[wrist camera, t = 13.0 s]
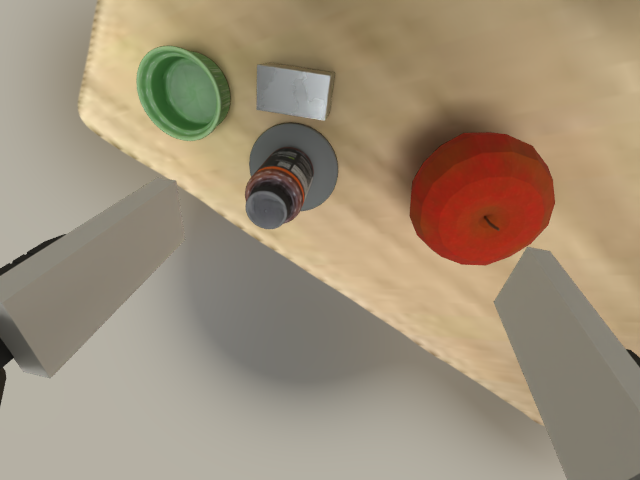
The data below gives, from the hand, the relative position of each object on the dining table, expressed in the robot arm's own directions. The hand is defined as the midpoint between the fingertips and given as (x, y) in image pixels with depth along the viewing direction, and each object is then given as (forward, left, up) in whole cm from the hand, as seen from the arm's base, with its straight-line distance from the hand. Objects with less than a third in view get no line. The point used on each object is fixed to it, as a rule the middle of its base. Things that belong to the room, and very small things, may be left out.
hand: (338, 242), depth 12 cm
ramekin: (0, -19, -27) cm, 33 cm away
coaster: (+7, -7, -27) cm, 29 cm away
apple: (+4, +12, -27) cm, 30 cm away
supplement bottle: (+7, -7, -26) cm, 28 cm away
